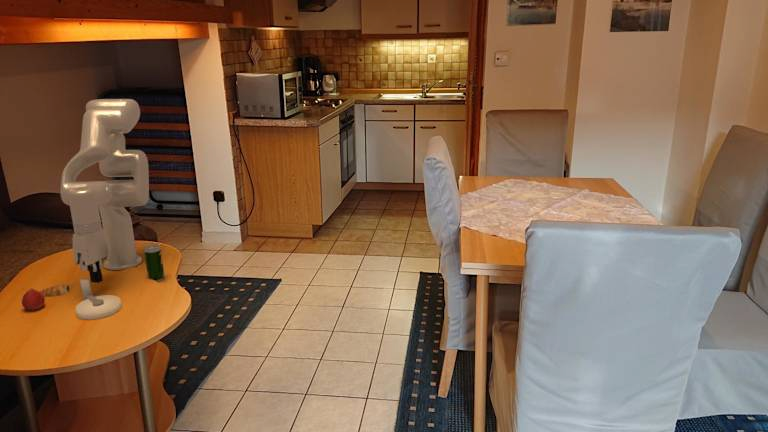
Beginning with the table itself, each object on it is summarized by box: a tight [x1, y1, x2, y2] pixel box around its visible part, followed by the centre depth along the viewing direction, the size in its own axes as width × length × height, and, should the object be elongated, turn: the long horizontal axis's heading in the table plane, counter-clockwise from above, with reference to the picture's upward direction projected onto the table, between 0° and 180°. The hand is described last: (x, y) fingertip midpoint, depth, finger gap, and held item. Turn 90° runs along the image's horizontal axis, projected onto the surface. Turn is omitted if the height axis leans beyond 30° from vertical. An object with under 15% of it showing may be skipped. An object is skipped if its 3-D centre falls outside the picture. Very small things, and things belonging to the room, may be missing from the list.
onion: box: [21, 287, 46, 312], centre depth 164 cm, size 6×6×8 cm
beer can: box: [143, 243, 165, 283], centre depth 186 cm, size 5×5×12 cm
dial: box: [75, 278, 122, 321], centre depth 164 cm, size 16×12×7 cm
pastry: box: [39, 282, 71, 298], centre depth 175 cm, size 9×7×4 cm
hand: (96, 281), depth 173 cm, fingers closed
